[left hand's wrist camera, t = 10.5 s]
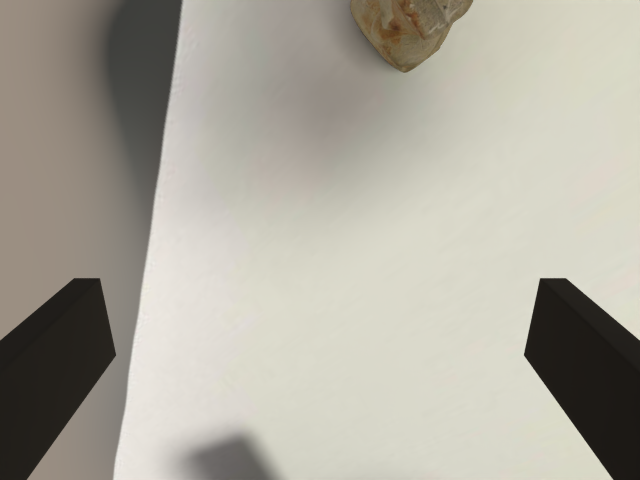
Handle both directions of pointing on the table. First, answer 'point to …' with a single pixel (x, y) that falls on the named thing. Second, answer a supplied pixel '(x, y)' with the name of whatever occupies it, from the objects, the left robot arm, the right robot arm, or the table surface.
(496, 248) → the table surface
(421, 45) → the sculpture
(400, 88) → the table surface
